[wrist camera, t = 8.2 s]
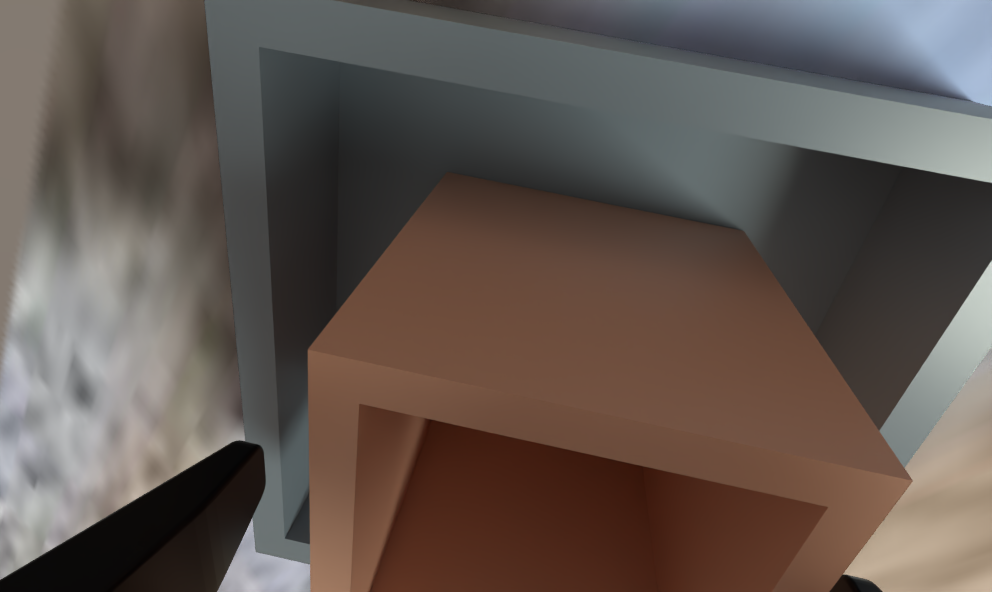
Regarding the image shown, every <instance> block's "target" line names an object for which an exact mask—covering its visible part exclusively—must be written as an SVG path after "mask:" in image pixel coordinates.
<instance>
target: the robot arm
mask: <svg viewBox="0 0 992 592" xmlns="http://www.w3.org/2000/svg"><path fill="white" fill-rule="evenodd" d="M265 485H266V473H265V459H264V450H263V448H262V446H260V445H258V444H254V443H250V442H245V441H235V442H232V443H230V444H228V445H227V446H225V447H223V448H222V449H220V450H218V451H217V452H215V453H213V454H211V455H210V456H208V457H206V458H205V459H203V460H201V461H200V462H198V463H196V464H195V465H193V466H191V467H190V468H188V469H186V470H185V471H183V472H181V473H179V474H178V475H176V476H174V477H173V478H171V479H169V480H168V481H166V482H164V483H163V484H161V485H159V486H158V487H156V488H154V489H153V490H151V491H149V492H148V493H146V494H144V495H142V496H141V497H139V498H137V499H136V500H134V501H132V502H131V503H129V504H127V505H126V506H124V507H122V508H121V509H119V510H117V511H116V512H114V513H112V514H110V515H109V516H107V517H105V518H104V519H102V520H100V521H99V522H97V523H95V524H94V525H92V526H90V527H89V528H87V529H85V530H84V531H82V532H80V533H78V534H77V535H75V536H73V537H72V538H70V539H68V540H67V541H65V542H63V543H62V544H60V545H58V546H57V547H55V548H53V549H52V550H50V551H48V552H46V553H45V554H43V555H41V556H40V557H38V558H36V559H35V560H33V561H31V562H30V563H28V564H26V565H25V566H23V567H21V568H20V569H18V570H16V571H14V572H13V573H11V574H9V575H8V576H6V577H4V578H3V579H1V580H0V592H217V591H218V589H219V587H220V585H221V583H222V581H223V579H224V577H225V575H226V573H227V570H228V568H229V566H230V564H231V562H232V560H233V558H234V556H235V553H236V551H237V549H238V547H239V545H240V543H241V541H242V538H243V536H244V534H245V532H246V530H247V528H248V526H249V524H250V521H251V519H252V517H253V515H254V513H255V511H256V509H257V507H258V504H259V502H260V500H261V498H262V496H263V493H264V490H265ZM830 592H882V591H881V590H880V589H879V588H878V587H877V586H876V585H875V584H874V583H873V582H871V581H869V580H867V579H863V578H858V577H854V576H849V575H842V576H841V577H840V578H839V580H838V581H837V582H836V584H835V585H834V586H833V588H832V589H831V590H830Z"/></svg>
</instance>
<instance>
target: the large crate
mask: <svg viewBox="0 0 992 592" xmlns="http://www.w3.org/2000/svg"><path fill="white" fill-rule="evenodd" d="M204 3H205V13H206V24H207V35H208V45H209V56H210V67H211V77H212V88H213V99H214V110H215V120H216V131H217V142H218V152H219V163H220V174H221V185H222V195H223V206H224V217H225V227H226V238H227V249H228V260H229V270H230V281H231V292H232V302H233V313H234V324H235V335H236V345H237V356H238V367H239V377H240V388H241V399H242V410H243V420H244V431H245V442H250V443H254V444H258V445H260V446H262V448H263V450H264V459H265V473H266V485H265V490H264V493H263V496H262V498H261V500H260V502H259V504H258V507H257V509H256V511H255V513H254V515H253V527H254V538H255V549H256V552H258V553H263V554H267V555H271V556H276V557H280V558H284V559H289V560H293V561H298V562H302V563H306V564H310V499H309V418H308V349H309V347H310V346H311V345H312V343H313V342H314V341H315V340H316V338H317V337H318V336H319V335H320V333H321V332H322V331H323V329H324V328H325V327H326V326H327V324H328V323H329V322H330V321H331V319H332V318H333V317H334V315H335V314H336V313H337V312H338V310H339V309H340V308H341V306H342V305H343V304H344V303H345V301H346V300H347V299H348V298H349V296H350V295H351V294H352V292H353V291H354V290H355V289H356V287H357V286H358V285H359V284H360V282H361V281H362V280H363V278H364V277H365V276H366V275H367V273H368V272H369V271H370V269H371V268H372V267H373V266H374V264H375V263H376V262H377V261H378V259H379V258H380V257H381V255H382V254H383V253H384V252H385V250H386V249H387V248H388V246H389V245H390V244H391V243H392V241H393V240H394V239H395V238H396V236H397V235H398V234H399V232H400V231H401V230H402V229H403V227H404V226H405V225H406V224H407V222H408V221H409V220H410V218H411V217H412V216H413V215H414V213H415V212H416V211H417V209H418V208H419V207H420V206H421V204H422V203H423V202H424V201H425V199H426V198H427V197H428V195H429V194H430V193H431V192H432V190H433V189H434V188H435V187H436V185H437V184H438V183H439V181H440V180H441V179H442V178H443V176H444V175H445V174H446V172H450V173H455V174H460V175H465V176H470V177H475V178H480V179H486V180H491V181H496V182H501V183H506V184H511V185H516V186H521V187H526V188H531V189H536V190H541V191H546V192H551V193H556V194H561V195H566V196H571V197H576V198H581V199H586V200H591V201H596V202H601V203H606V204H611V205H616V206H621V207H626V208H631V209H636V210H641V211H646V212H651V213H656V214H661V215H666V216H671V217H676V218H681V219H686V220H691V221H696V222H701V223H706V224H711V225H716V226H721V227H726V228H732V229H737V230H742V231H744V232H745V233H746V235H747V236H748V238H749V239H750V241H751V242H752V244H753V245H754V247H755V248H756V250H757V251H758V253H759V254H760V256H761V257H762V259H763V260H764V262H765V263H766V264H767V266H768V267H769V269H770V270H771V272H772V273H773V275H774V276H775V278H776V279H777V281H778V282H779V284H780V285H781V287H782V288H783V290H784V291H785V293H786V294H787V296H788V297H789V298H790V300H791V301H792V303H793V304H794V306H795V307H796V309H797V310H798V312H799V313H800V315H801V316H802V318H803V319H804V321H805V322H806V324H807V325H808V327H809V328H810V330H811V331H812V332H813V334H814V335H815V337H816V338H817V340H818V341H819V343H820V344H821V346H822V347H823V349H824V350H825V352H826V353H827V355H828V356H829V358H830V359H831V361H832V362H833V364H834V365H835V366H836V368H837V369H838V371H839V372H840V374H841V375H842V377H843V378H844V380H845V381H846V383H847V384H848V386H849V387H850V389H851V390H852V392H853V393H854V395H855V396H856V398H857V399H858V400H859V402H860V403H861V405H862V406H863V408H864V409H865V411H866V412H867V414H868V415H869V417H870V418H871V420H872V421H873V423H874V424H875V426H876V427H877V429H878V430H879V431H880V433H881V434H882V436H883V437H884V439H885V440H886V442H887V443H888V445H889V446H890V448H891V449H892V451H893V452H894V454H895V455H896V457H897V458H898V460H899V461H900V463H901V464H902V465H903V467H904V468H905V466H906V465H907V464H908V462H909V461H910V459H911V458H912V457H913V455H914V454H915V453H916V451H917V450H918V448H919V447H920V446H921V444H922V443H923V441H924V440H925V439H926V437H927V436H928V435H929V433H930V432H931V430H932V429H933V428H934V426H935V425H936V423H937V422H938V421H939V419H940V418H941V416H942V415H943V414H944V412H945V411H946V410H947V408H948V407H949V405H950V404H951V403H952V401H953V400H954V398H955V397H956V396H957V394H958V393H959V391H960V390H961V389H962V387H963V386H964V385H965V383H966V382H967V380H968V379H969V378H970V376H971V375H972V373H973V372H974V371H975V369H976V368H977V366H978V365H979V364H980V362H981V361H982V360H983V358H984V357H985V355H986V354H987V353H988V351H989V350H990V348H991V347H992V107H991V106H988V105H984V104H980V103H976V102H973V101H967V100H961V99H956V98H950V97H945V96H939V95H934V94H928V93H922V92H917V91H911V90H906V89H900V88H895V87H889V86H883V85H878V84H872V83H867V82H861V81H856V80H850V79H844V78H839V77H833V76H828V75H822V74H817V73H811V72H805V71H800V70H794V69H789V68H783V67H778V66H772V65H766V64H761V63H755V62H750V61H744V60H739V59H733V58H727V57H722V56H716V55H711V54H705V53H700V52H694V51H688V50H683V49H677V48H672V47H666V46H661V45H655V44H649V43H644V42H638V41H633V40H627V39H622V38H616V37H610V36H605V35H599V34H594V33H588V32H583V31H577V30H571V29H566V28H560V27H555V26H549V25H544V24H538V23H532V22H527V21H521V20H516V19H510V18H505V17H499V16H493V15H488V14H482V13H477V12H471V11H465V10H460V9H454V8H449V7H443V6H438V5H432V4H426V3H421V2H415V1H410V0H204Z"/></svg>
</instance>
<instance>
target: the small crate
mask: <svg viewBox="0 0 992 592" xmlns="http://www.w3.org/2000/svg"><path fill="white" fill-rule="evenodd" d="M308 418H309V499H310V580H311V592H830V590H831V589H832V588H833V586H834V585H835V584H836V582H837V581H838V580H839V578H840V577H841V576H842V574H843V573H844V572H845V570H846V569H847V568H848V566H849V565H850V564H851V562H852V561H853V560H854V558H855V557H856V556H857V555H858V553H859V552H860V551H861V549H862V548H863V547H864V545H865V544H866V543H867V541H868V540H869V539H870V537H871V536H872V535H873V533H874V532H875V531H876V529H877V528H878V527H879V525H880V524H881V523H882V521H883V520H884V519H885V517H886V516H887V515H888V513H889V512H890V511H891V509H892V508H893V507H894V505H895V504H896V503H897V501H898V500H899V499H900V498H901V496H902V495H903V494H904V492H905V491H906V490H907V488H908V487H909V486H910V484H911V483H912V482H913V480H912V479H911V477H910V476H909V474H908V473H907V471H906V470H905V468H904V467H903V465H902V464H901V463H900V461H899V460H898V458H897V457H896V455H895V454H894V452H893V451H892V449H891V448H890V446H889V445H888V443H887V442H886V440H885V439H884V437H883V436H882V434H881V433H880V431H879V430H878V429H877V427H876V426H875V424H874V423H873V421H872V420H871V418H870V417H869V415H868V414H867V412H866V411H865V409H864V408H863V406H862V405H861V403H860V402H859V400H858V399H857V398H856V396H855V395H854V393H853V392H852V390H851V389H850V387H849V386H848V384H847V383H846V381H845V380H844V378H843V377H842V375H841V374H840V372H839V371H838V369H837V368H836V366H835V365H834V364H833V362H832V361H831V359H830V358H829V356H828V355H827V353H826V352H825V350H824V349H823V347H822V346H821V344H820V343H819V341H818V340H817V338H816V337H815V335H814V334H813V332H812V331H811V330H810V328H809V327H808V325H807V324H806V322H805V321H804V319H803V318H802V316H801V315H800V313H799V312H798V310H797V309H796V307H795V306H794V304H793V303H792V301H791V300H790V298H789V297H788V296H787V294H786V293H785V291H784V290H783V288H782V287H781V285H780V284H779V282H778V281H777V279H776V278H775V276H774V275H773V273H772V272H771V270H770V269H769V267H768V266H767V264H766V263H765V262H764V260H763V259H762V257H761V256H760V254H759V253H758V251H757V250H756V248H755V247H754V245H753V244H752V242H751V241H750V239H749V238H748V236H747V235H746V233H745V232H744V231H742V230H737V229H732V228H726V227H721V226H716V225H711V224H706V223H701V222H696V221H691V220H686V219H681V218H676V217H671V216H666V215H661V214H656V213H651V212H646V211H641V210H636V209H631V208H626V207H621V206H616V205H611V204H606V203H601V202H596V201H591V200H586V199H581V198H576V197H571V196H566V195H561V194H556V193H551V192H546V191H541V190H536V189H531V188H526V187H521V186H516V185H511V184H506V183H501V182H496V181H491V180H486V179H480V178H475V177H470V176H465V175H460V174H455V173H450V172H446V174H445V175H444V176H443V178H442V179H441V180H440V181H439V183H438V184H437V185H436V187H435V188H434V189H433V190H432V192H431V193H430V194H429V195H428V197H427V198H426V199H425V201H424V202H423V203H422V204H421V206H420V207H419V208H418V209H417V211H416V212H415V213H414V215H413V216H412V217H411V218H410V220H409V221H408V222H407V224H406V225H405V226H404V227H403V229H402V230H401V231H400V232H399V234H398V235H397V236H396V238H395V239H394V240H393V241H392V243H391V244H390V245H389V246H388V248H387V249H386V250H385V252H384V253H383V254H382V255H381V257H380V258H379V259H378V261H377V262H376V263H375V264H374V266H373V267H372V268H371V269H370V271H369V272H368V273H367V275H366V276H365V277H364V278H363V280H362V281H361V282H360V284H359V285H358V286H357V287H356V289H355V290H354V291H353V292H352V294H351V295H350V296H349V298H348V299H347V300H346V301H345V303H344V304H343V305H342V306H341V308H340V309H339V310H338V312H337V313H336V314H335V315H334V317H333V318H332V319H331V321H330V322H329V323H328V324H327V326H326V327H325V328H324V329H323V331H322V332H321V333H320V335H319V336H318V337H317V338H316V340H315V341H314V342H313V343H312V345H311V346H310V347H309V349H308Z"/></svg>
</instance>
